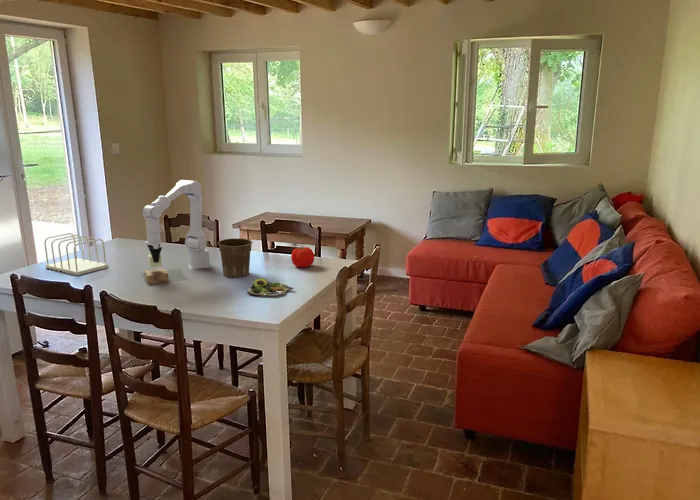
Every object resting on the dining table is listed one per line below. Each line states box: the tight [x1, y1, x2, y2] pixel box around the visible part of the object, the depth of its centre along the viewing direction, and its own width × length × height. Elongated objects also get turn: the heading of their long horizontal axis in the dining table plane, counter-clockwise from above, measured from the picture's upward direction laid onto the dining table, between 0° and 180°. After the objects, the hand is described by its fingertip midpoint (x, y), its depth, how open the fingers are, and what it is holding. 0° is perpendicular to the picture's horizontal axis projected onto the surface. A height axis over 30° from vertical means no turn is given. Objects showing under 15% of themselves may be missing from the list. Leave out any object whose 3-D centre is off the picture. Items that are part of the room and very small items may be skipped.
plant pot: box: [217, 237, 253, 279], centre depth 265 cm, size 16×16×16 cm
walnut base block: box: [143, 268, 170, 285], centre depth 255 cm, size 9×9×4 cm
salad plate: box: [246, 277, 295, 297], centre depth 243 cm, size 19×18×5 cm
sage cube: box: [148, 253, 163, 269], centre depth 254 cm, size 5×5×5 cm
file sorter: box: [44, 232, 109, 276], centre depth 274 cm, size 25×17×16 cm
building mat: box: [140, 268, 188, 285], centre depth 262 cm, size 18×20×1 cm
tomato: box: [290, 245, 315, 268], centre depth 280 cm, size 12×12×10 cm
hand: (155, 260), depth 254 cm, fingers closed on sage cube, 5 cm apart
